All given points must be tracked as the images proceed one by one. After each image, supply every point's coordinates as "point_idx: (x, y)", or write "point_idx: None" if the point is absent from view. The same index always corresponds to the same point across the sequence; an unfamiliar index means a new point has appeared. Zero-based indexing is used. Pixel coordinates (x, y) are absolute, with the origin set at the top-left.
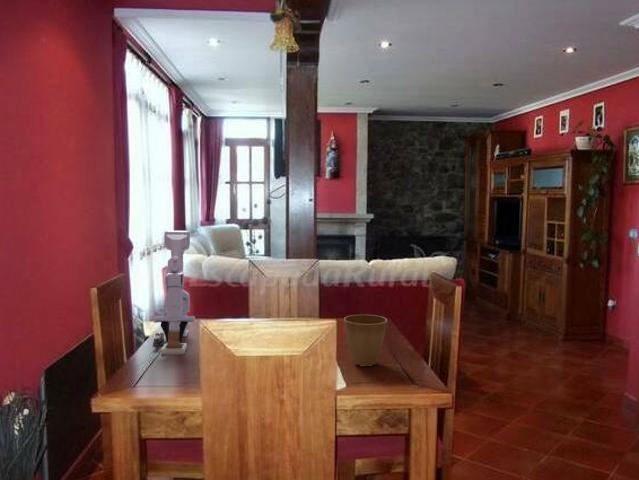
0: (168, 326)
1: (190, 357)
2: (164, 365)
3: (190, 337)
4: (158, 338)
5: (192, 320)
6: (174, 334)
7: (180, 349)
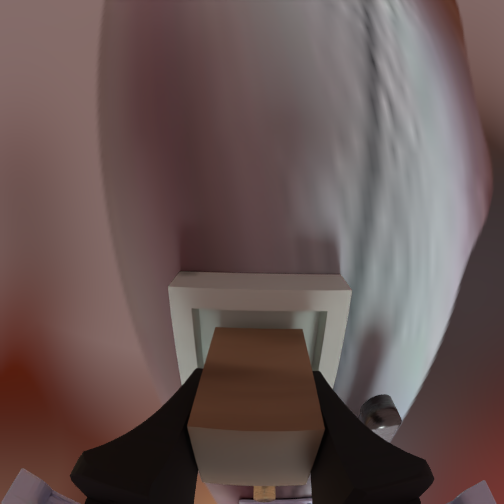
0: (322, 500)
1: (125, 198)
2: (277, 24)
3: (220, 493)
4: (373, 431)
5: (23, 490)
6: (246, 411)
7: (195, 287)
